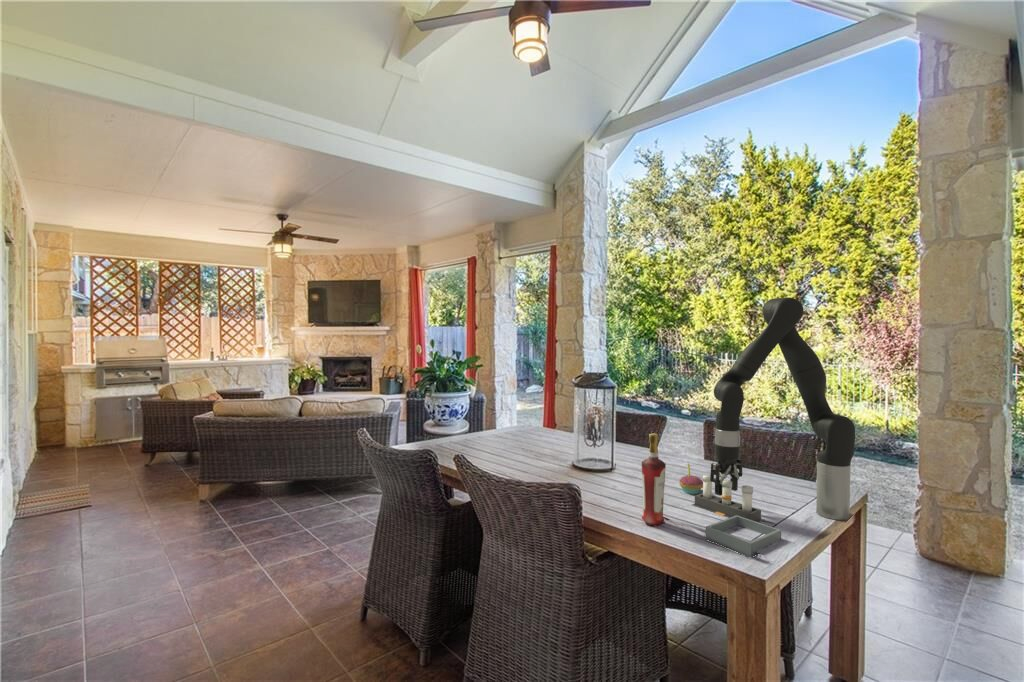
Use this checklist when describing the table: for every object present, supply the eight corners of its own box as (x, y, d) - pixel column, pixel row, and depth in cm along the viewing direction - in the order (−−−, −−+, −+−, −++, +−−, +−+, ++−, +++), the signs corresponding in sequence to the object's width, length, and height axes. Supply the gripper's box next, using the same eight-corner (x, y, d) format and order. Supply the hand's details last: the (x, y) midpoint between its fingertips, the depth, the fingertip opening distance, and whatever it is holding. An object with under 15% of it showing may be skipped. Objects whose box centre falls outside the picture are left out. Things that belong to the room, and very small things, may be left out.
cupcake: (674, 493, 184) (674, 461, 184) (692, 490, 187) (692, 459, 187) (690, 500, 176) (690, 467, 176) (709, 497, 179) (709, 464, 179)
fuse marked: (724, 509, 163) (725, 479, 163) (733, 512, 161) (734, 481, 161) (719, 511, 162) (719, 481, 161) (728, 514, 159) (728, 483, 159)
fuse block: (705, 504, 172) (705, 491, 172) (764, 524, 155) (764, 509, 155) (690, 509, 168) (691, 496, 168) (750, 530, 150) (750, 515, 150)
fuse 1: (706, 503, 169) (706, 474, 169) (714, 505, 167) (714, 476, 166) (700, 504, 167) (700, 475, 167) (708, 507, 165) (709, 478, 165)
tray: (736, 528, 152) (736, 515, 152) (781, 544, 141) (781, 530, 140) (705, 540, 143) (705, 526, 143) (750, 558, 132) (751, 543, 132)
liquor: (646, 516, 161) (647, 431, 160) (668, 522, 156) (669, 434, 156) (637, 523, 155) (637, 434, 155) (659, 529, 151) (660, 438, 150)
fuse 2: (745, 515, 158) (745, 484, 157) (754, 519, 155) (755, 487, 155) (739, 518, 156) (739, 486, 156) (749, 521, 153) (749, 489, 153)
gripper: (725, 448, 153) (724, 500, 154) (750, 442, 162) (749, 491, 162) (703, 443, 160) (702, 493, 160) (729, 438, 168) (728, 485, 168)
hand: (726, 492), depth 161 cm, fingers open, 8 cm apart
